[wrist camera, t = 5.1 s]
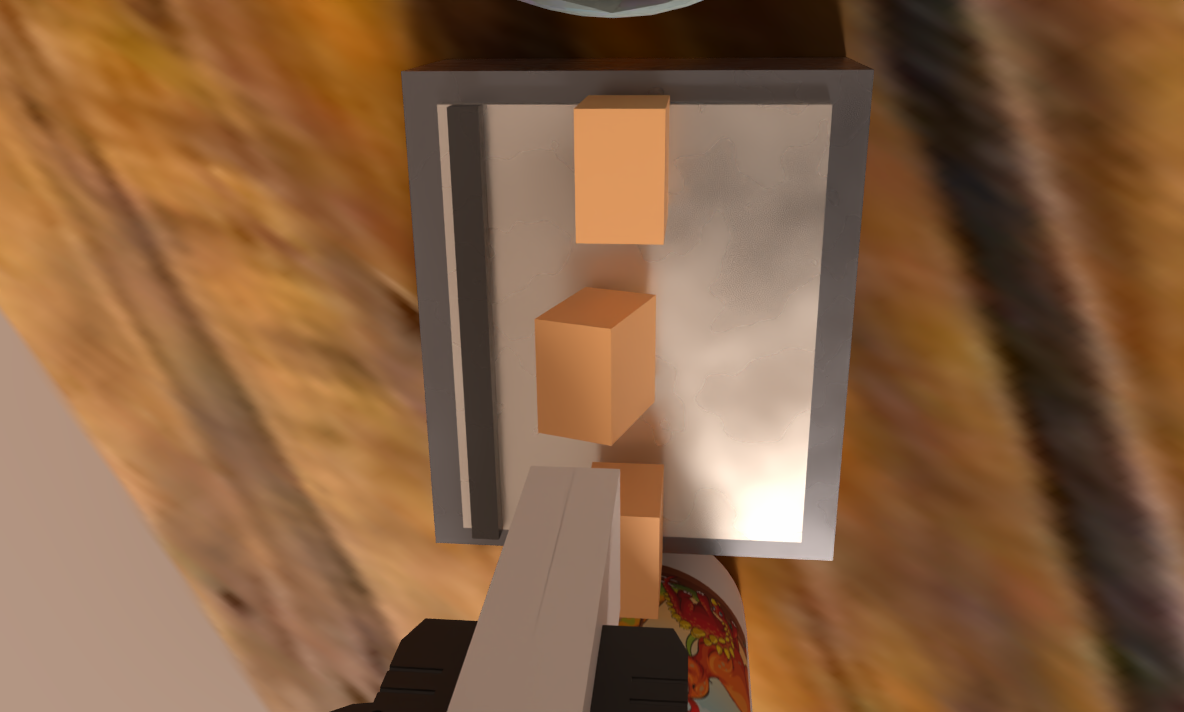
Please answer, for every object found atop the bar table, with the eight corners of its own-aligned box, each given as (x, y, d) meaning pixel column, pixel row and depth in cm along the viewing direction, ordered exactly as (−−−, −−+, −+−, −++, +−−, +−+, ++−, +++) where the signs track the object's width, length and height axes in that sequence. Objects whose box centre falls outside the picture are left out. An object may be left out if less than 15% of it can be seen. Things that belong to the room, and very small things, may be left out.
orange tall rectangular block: (669, 95, 24) (665, 108, 21) (667, 216, 25) (663, 244, 22) (588, 95, 24) (573, 108, 22) (589, 215, 26) (575, 243, 23)
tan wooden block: (663, 464, 28) (659, 518, 25) (662, 558, 29) (658, 619, 26) (592, 461, 28) (580, 514, 25) (593, 554, 29) (582, 615, 26)
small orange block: (656, 295, 26) (610, 328, 23) (654, 402, 27) (611, 445, 24) (585, 286, 27) (534, 319, 24) (586, 391, 28) (538, 432, 25)
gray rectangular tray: (846, 57, 29) (880, 73, 24) (814, 482, 34) (837, 579, 28) (447, 58, 30) (389, 74, 25) (471, 469, 35) (427, 559, 30)
